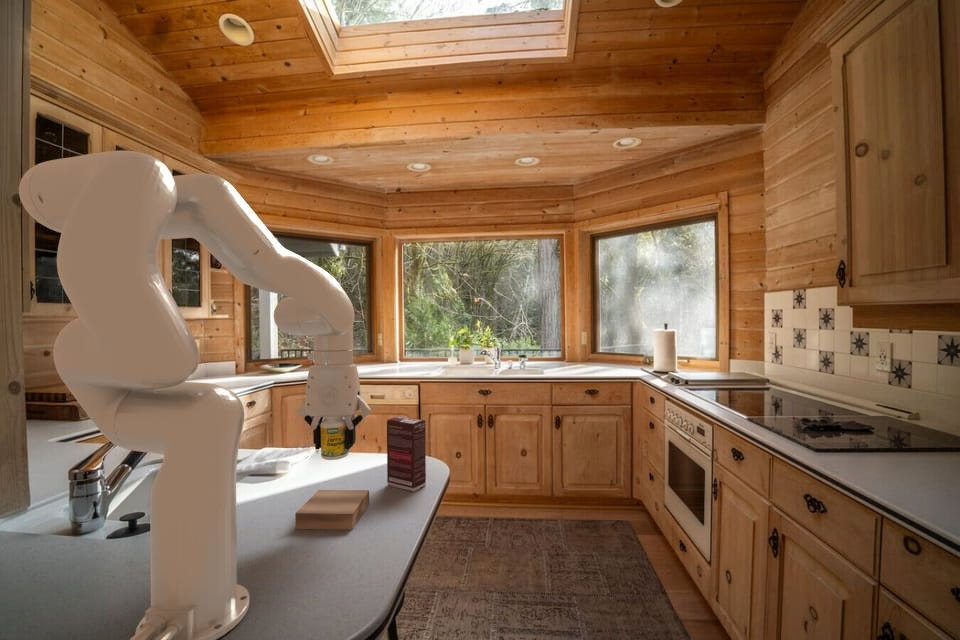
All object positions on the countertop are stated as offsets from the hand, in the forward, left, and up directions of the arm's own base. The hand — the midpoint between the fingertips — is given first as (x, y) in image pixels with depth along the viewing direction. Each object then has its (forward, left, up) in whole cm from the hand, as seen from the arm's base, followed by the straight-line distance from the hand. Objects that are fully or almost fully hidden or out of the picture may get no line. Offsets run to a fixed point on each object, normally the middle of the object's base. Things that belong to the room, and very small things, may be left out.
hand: (334, 446), depth 86 cm
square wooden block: (0, 0, -14) cm, 14 cm away
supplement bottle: (0, 0, -2) cm, 2 cm away
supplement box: (+16, -11, -14) cm, 24 cm away
